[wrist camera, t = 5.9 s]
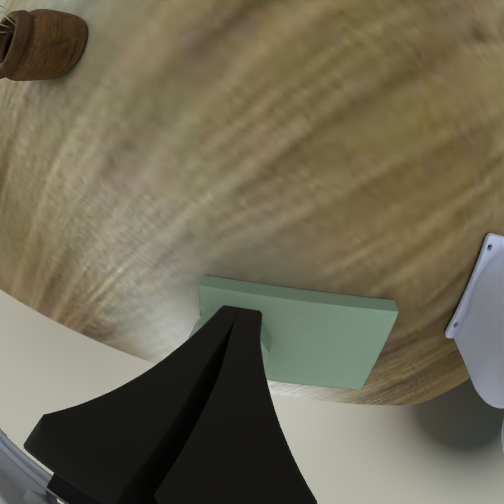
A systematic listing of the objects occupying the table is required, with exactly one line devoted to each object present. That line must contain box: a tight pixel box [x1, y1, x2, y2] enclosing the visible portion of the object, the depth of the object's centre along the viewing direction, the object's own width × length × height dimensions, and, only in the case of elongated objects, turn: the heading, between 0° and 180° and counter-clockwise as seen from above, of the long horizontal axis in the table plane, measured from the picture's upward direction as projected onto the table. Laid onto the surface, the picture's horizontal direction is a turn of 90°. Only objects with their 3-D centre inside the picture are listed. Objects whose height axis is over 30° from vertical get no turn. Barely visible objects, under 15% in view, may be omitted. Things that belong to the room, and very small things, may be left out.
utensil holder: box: [0, 6, 87, 81], centre depth 8 cm, size 6×6×12 cm
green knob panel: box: [189, 275, 399, 389], centre depth 20 cm, size 14×9×3 cm, turn 87°
